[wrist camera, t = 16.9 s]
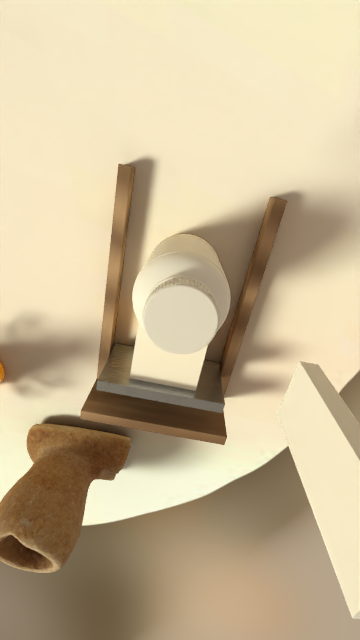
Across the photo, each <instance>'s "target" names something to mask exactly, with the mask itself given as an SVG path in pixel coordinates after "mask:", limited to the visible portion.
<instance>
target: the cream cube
mask: <svg viewBox="0 0 360 640" xmlns="http://www.w3.org/2000/svg"><path fill="white" fill-rule="evenodd" d="M207 347H208V345H206V346H205V347H204V348H202V349H200V350H199V351H196V352H194V353H190V354H173V353H169V352H166V351H164V350H162V349H160V348H158V347H157V346H156V345H154V343H152V342H151V340H150V339H149V338H148V337H147V334H146V333H145V331H144V328H143V327H142V326H141V324H140V323H139V322H138V328H137V335H136V341H135V347H134V353H133V360H132V366H131V372H130V379H136V380H141V381H146V382H152V383H157V384H162V385H167V386H173V387H178V388H183V389H188V390H194V391H196V387H197V383H198V380H199V376H200V373H201V369H202V365H203V362H204V358H205V354H206V351H207Z"/></svg>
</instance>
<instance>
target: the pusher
mask: <svg viewBox="0 0 360 640" xmlns="http://www.w3.org/2000/svg"><path fill="white" fill-rule="evenodd" d="M133 353H134V347H133V346H128V345H123V344H118V343H115V345H114V347H113V350H112V352H111V354H110V356H109V358H108V360H107V362H106V364H105V366H104V368H103V370H102V372H101V374H100V376H99V378H98V380H97V388H96V390H99V391H105V392H110V393H116V394H121V395H127V396H132V397H137V398H143V399H148V400H154V401H159V402H165V403H170V404H175V405H181V406H186V407H192V408H197V409H203V410H208V411H213V412H219V413H222V411H223V408H224V405H225V402H224V396H223V389H222V382H221V375H220V369H219V363H217V362H211V361H206V360H204V362H203V365H202V369H201V373H200V376H199V380H198V383H197V387H196V391H194V390H188V389H183V388H178V387H173V386H167V385H162V384H157V383H152V382H146V381H141V380H136V379H130V372H131V366H132V360H133Z"/></svg>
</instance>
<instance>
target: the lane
mask: <svg viewBox="0 0 360 640" xmlns="http://www.w3.org/2000/svg"><path fill="white" fill-rule="evenodd" d="M134 172H135V168H134V167H131V166H127V165H122V164H119V165H118V175H117V185H116V195H115V205H114V215H113V225H112V234H111V244H110V254H109V264H108V274H107V284H106V294H105V304H104V314H103V324H102V334H101V344H100V353H99V363H98V373H97V379H96V382H95V384H94V386H93V388H92V390H91V392H90V394H89V396H88V398H87V400H86V402H85V404H84V406H83V408H82V410H81V416H80V419H82V420H88V421H94V422H99V423H105V424H110V425H116V426H121V427H127V428H133V429H138V430H144V431H149V432H155V433H161V434H166V435H172V436H177V437H183V438H188V439H194V440H200V441H205V442H211V443H216V444H222V445H224V444H225V441H226V438H227V434H226V427H225V419H224V412H223V411H222V413H219V412H213V411H208V410H203V409H197V408H192V407H186V406H181V405H175V404H170V403H165V402H159V401H154V400H148V399H143V398H137V397H132V396H127V395H121V394H116V393H110V392H105V391H99V390H96V388H97V380H98V378H99V376H100V374H101V372H102V370H103V368H104V366H105V364H106V362H107V360H108V358H109V356H110V354H111V352H112V350H113V345H114V336H115V328H116V320H117V312H118V303H119V295H120V287H121V279H122V271H123V262H124V254H125V246H126V238H127V230H128V221H129V213H130V205H131V197H132V188H133V180H134ZM286 203H287V201H286V200H281V199H277V198H271V197H270V200H269V203H268V207H267V210H266V213H265V216H264V220H263V223H262V226H261V230H260V233H259V236H258V240H257V243H256V246H255V250H254V253H253V256H252V260H251V263H250V266H249V270H248V273H247V276H246V280H245V283H244V286H243V290H242V293H241V296H240V300H239V303H238V306H237V310H236V313H235V316H234V320H233V323H232V326H231V330H230V333H229V336H228V339H227V343H226V346H225V349H224V353H223V356H222V359H221V363H220V366H219V369H220V375H221V382H222V389H223V396H224V394H225V391H226V388H227V385H228V382H229V379H230V376H231V373H232V370H233V367H234V363H235V360H236V357H237V354H238V351H239V348H240V345H241V342H242V339H243V336H244V333H245V330H246V326H247V323H248V320H249V317H250V314H251V311H252V308H253V305H254V302H255V299H256V296H257V292H258V289H259V286H260V283H261V280H262V277H263V274H264V271H265V268H266V265H267V262H268V259H269V255H270V252H271V249H272V246H273V243H274V240H275V237H276V234H277V231H278V228H279V225H280V222H281V218H282V215H283V212H284V209H285V206H286Z"/></svg>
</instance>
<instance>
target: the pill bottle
mask: <svg viewBox="0 0 360 640" xmlns="http://www.w3.org/2000/svg"><path fill="white" fill-rule="evenodd" d="M230 302H231V295H230V288H229V284H228V281H227V279H226V276H225V274H224V271H223V269H222V266H221V264H220V261H219V259H218V256H217V254H216V252H215V250H214V249H213V248H212V246H211V245H210V244H209V243H208V242H206V241H205V240H203V239H202V238H200V237H198V236H195V235H191V234H177V235H173V236H171V237H168V238H166V239H165V240H163V241H162V242H161V243H160V244H158V246H157V247H156V248H155V249H154V251H153V252H152V254H151V255H150V257H149V259H148V260H147V262H146V263H145V265H144V266H143V268H142V269H141V271H140V273H139V274H138V276H137V278H136V281H135V283H134V287H133V292H132V303H133V308H134V312H135V315H136V317H137V319H138V321H139V323H140V324H141V326H142V327H143V328H144V331H145V333H146V334H147V337H148V338H149V339H150V340H151V342H152V343H154V345H156V346H157V347H158V348H160V349H162V350H164V351H166V352H169V353H173V354H190V353H194V352H196V351H199V350H200V349H202V348H204V347H205V346H206V345H208V344H209V343H210V342H211V341H212V339H213V338H214V336H215V335H216V333H217V331H218V330H219V328H220V327H221V326H222V324H223V323H224V321H225V319H226V317H227V315H228V312H229V309H230Z"/></svg>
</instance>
